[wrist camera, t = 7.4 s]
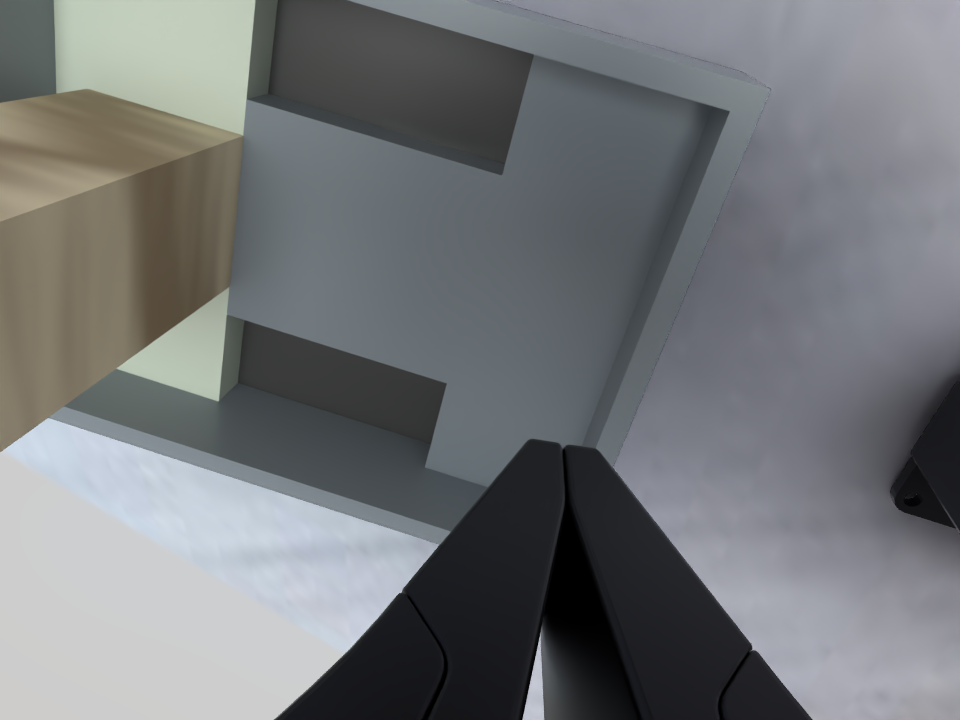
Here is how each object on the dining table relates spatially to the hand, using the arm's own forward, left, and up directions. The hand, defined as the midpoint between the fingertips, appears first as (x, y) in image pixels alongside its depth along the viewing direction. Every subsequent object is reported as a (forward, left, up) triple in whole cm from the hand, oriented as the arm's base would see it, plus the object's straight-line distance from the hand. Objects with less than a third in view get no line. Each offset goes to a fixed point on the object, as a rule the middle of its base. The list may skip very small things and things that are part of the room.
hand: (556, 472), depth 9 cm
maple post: (+12, +3, -11) cm, 17 cm away
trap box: (+7, +3, -13) cm, 15 cm away
